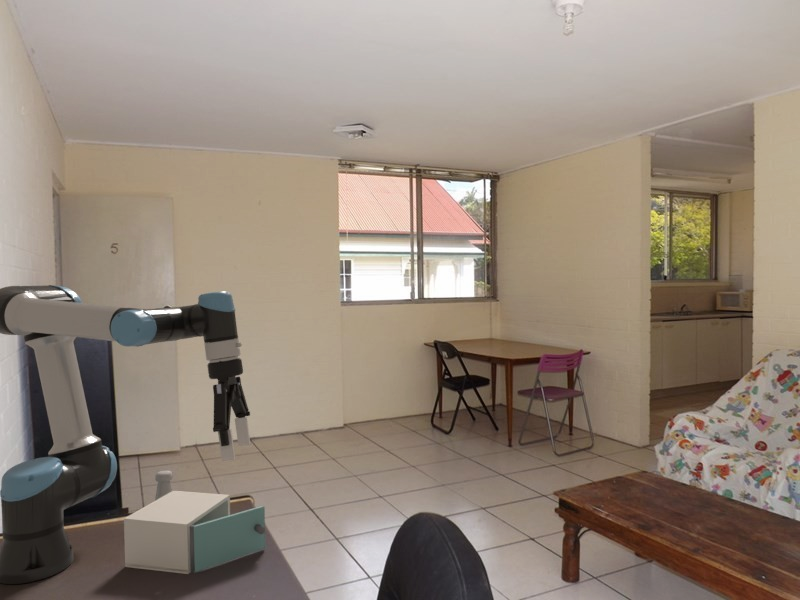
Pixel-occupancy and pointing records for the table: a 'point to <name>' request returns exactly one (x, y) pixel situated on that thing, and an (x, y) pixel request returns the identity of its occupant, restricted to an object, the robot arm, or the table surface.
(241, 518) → the side door
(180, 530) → the storage box
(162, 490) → the salt shaker
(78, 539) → the table surface
